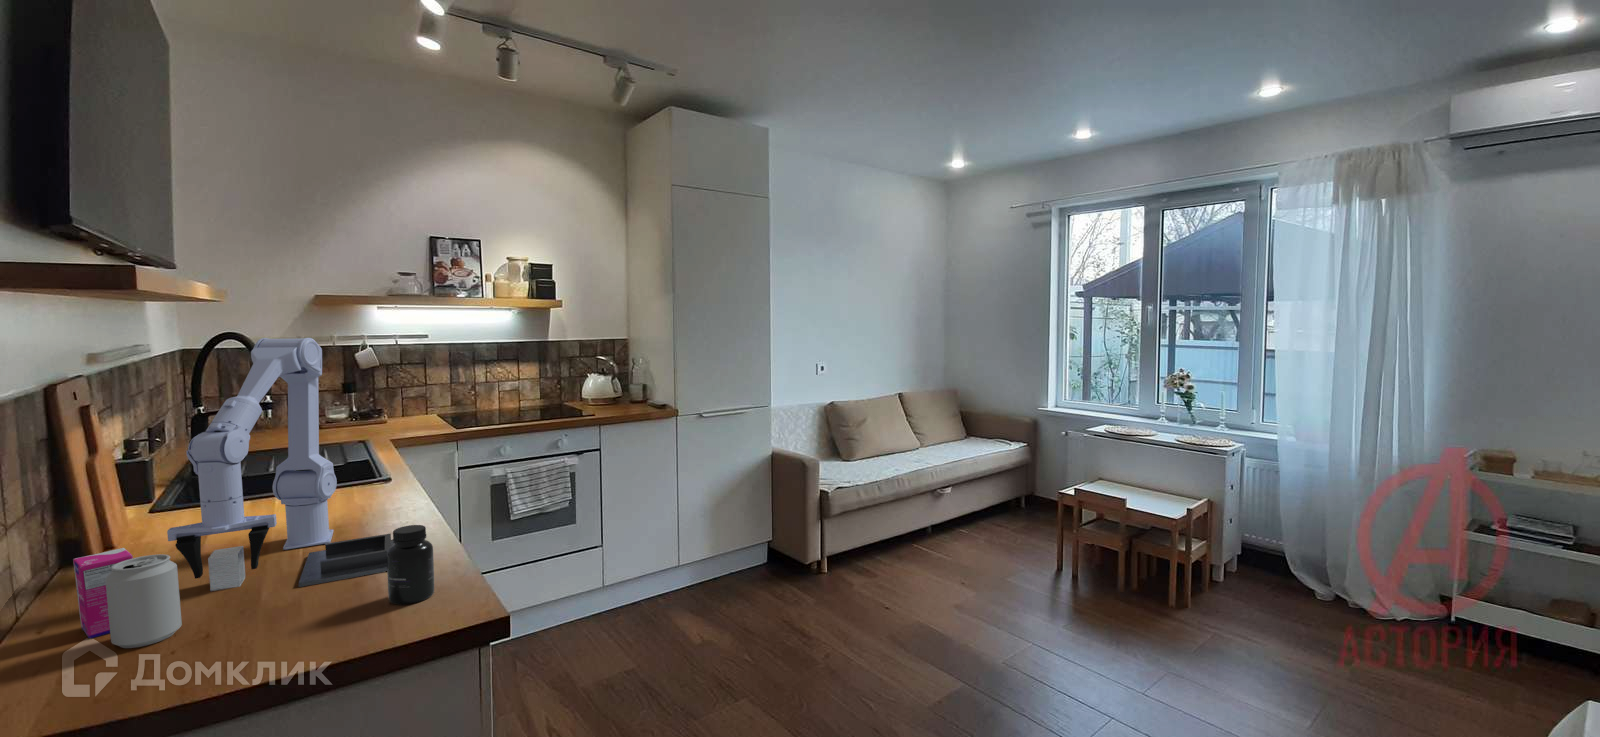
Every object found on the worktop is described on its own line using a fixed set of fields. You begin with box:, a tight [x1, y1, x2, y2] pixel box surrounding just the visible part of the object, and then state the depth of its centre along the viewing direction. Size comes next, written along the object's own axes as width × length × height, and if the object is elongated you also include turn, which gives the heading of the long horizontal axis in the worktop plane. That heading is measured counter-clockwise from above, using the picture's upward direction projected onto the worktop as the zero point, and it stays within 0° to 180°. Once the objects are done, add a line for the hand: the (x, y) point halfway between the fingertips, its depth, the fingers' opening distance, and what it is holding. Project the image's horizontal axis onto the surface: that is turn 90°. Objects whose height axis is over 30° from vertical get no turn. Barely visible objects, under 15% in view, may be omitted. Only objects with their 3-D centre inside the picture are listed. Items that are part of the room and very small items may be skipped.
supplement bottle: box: [386, 524, 435, 606], centre depth 111 cm, size 7×7×12 cm
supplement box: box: [72, 547, 134, 639], centre depth 100 cm, size 6×6×12 cm
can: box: [105, 553, 183, 649], centre depth 97 cm, size 8×8×12 cm
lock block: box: [207, 545, 246, 592], centre depth 117 cm, size 5×4×6 cm
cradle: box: [298, 533, 395, 588], centre depth 127 cm, size 18×16×3 cm
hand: (227, 571), depth 117 cm, fingers open, 7 cm apart
